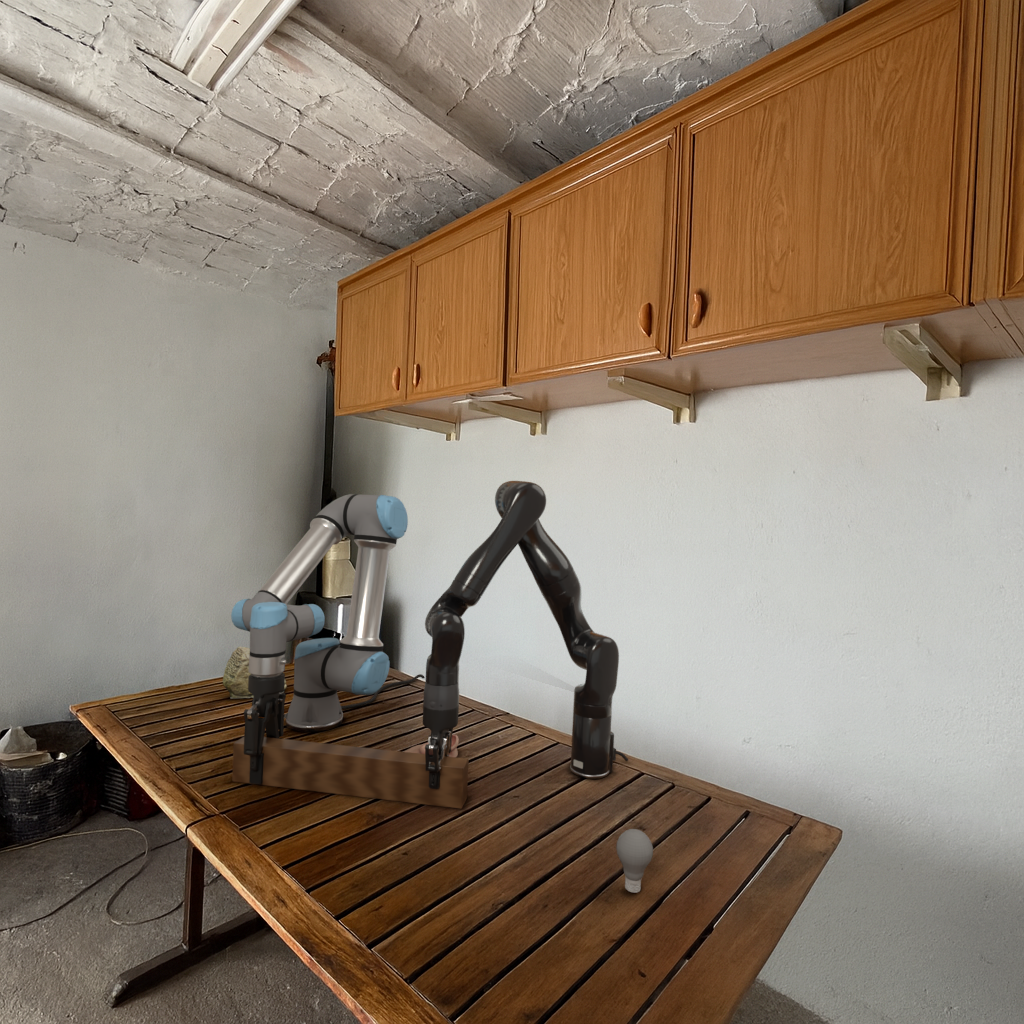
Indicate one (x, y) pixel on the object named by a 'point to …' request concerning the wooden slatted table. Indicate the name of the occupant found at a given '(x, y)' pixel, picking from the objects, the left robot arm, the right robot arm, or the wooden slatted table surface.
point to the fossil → (239, 674)
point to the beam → (355, 772)
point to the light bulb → (634, 857)
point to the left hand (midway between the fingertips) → (263, 777)
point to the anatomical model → (421, 748)
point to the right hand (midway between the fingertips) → (437, 781)
